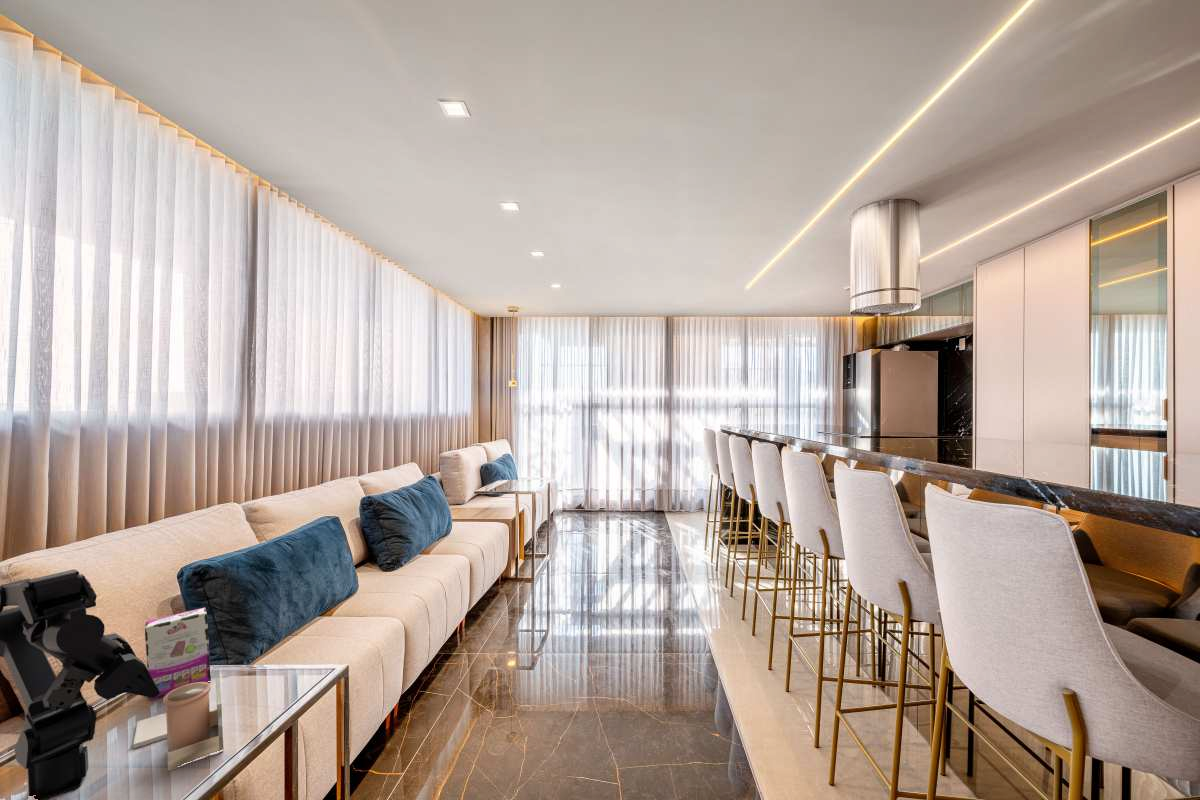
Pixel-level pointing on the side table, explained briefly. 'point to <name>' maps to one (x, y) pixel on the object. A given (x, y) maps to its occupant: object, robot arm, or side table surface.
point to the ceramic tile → (150, 730)
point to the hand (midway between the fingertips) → (151, 687)
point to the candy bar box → (178, 650)
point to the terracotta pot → (187, 715)
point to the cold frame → (202, 747)
